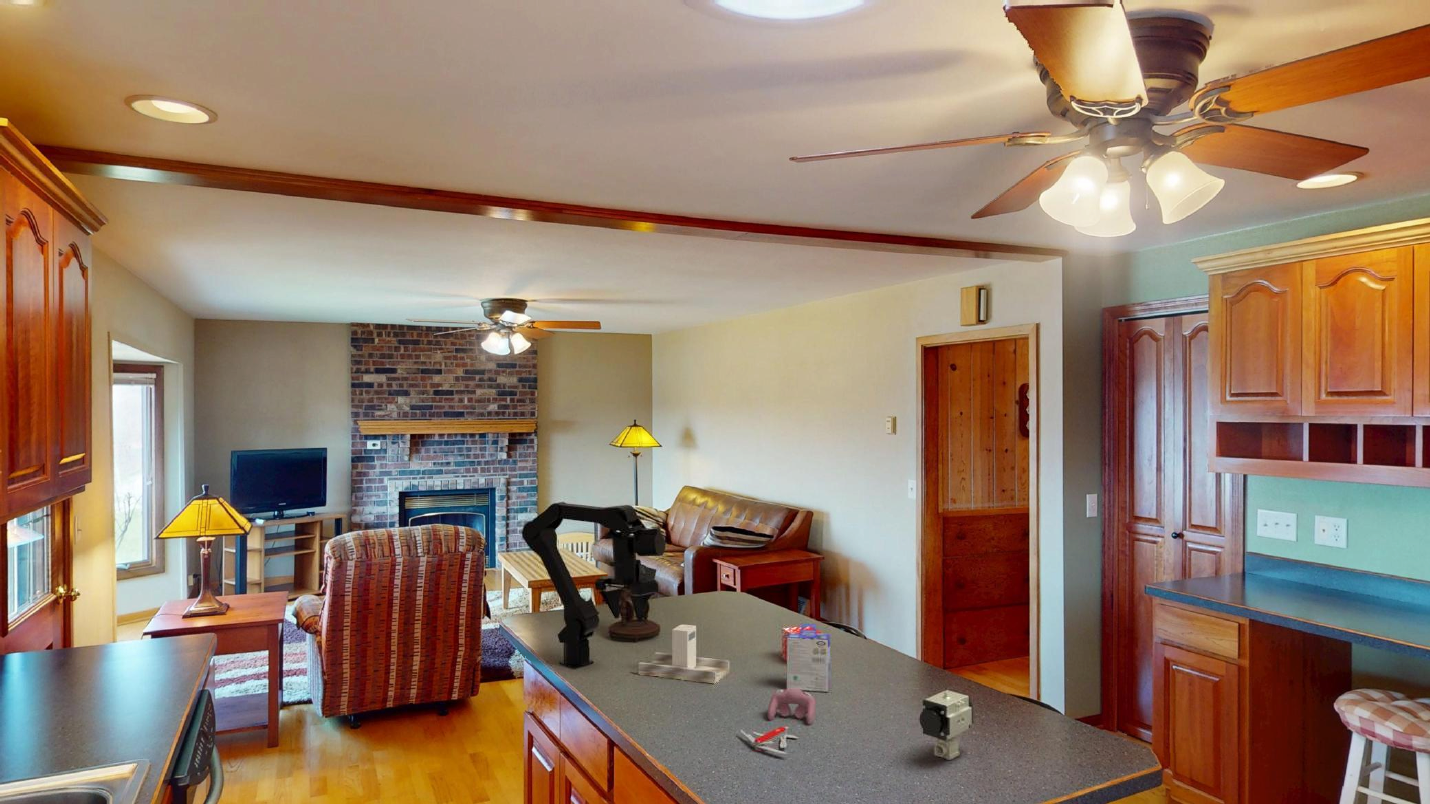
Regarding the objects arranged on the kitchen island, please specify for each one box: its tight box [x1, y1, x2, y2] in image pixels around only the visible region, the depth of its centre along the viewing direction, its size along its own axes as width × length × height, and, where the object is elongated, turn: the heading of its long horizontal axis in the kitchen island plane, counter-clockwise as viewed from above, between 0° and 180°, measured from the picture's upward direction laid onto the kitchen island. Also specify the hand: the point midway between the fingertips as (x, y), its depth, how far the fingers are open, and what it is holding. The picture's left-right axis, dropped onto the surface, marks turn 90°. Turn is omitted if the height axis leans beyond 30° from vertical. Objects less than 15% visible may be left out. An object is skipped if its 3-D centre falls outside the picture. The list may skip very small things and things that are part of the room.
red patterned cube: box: [781, 626, 824, 662], centre depth 216 cm, size 8×8×8 cm
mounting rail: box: [638, 651, 730, 685], centre depth 206 cm, size 20×10×3 cm, turn 69°
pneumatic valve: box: [919, 688, 974, 761], centre depth 157 cm, size 6×12×12 cm, turn 133°
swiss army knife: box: [739, 726, 799, 756], centre depth 163 cm, size 12×14×2 cm
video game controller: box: [767, 688, 817, 726], centre depth 176 cm, size 10×5×7 cm, turn 72°
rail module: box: [671, 624, 697, 668], centre depth 206 cm, size 4×6×10 cm
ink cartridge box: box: [785, 622, 831, 693], centre depth 195 cm, size 10×6×14 cm, turn 78°
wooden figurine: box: [608, 563, 661, 643], centre depth 240 cm, size 15×15×20 cm
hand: (628, 620), depth 207 cm, fingers open, 9 cm apart
